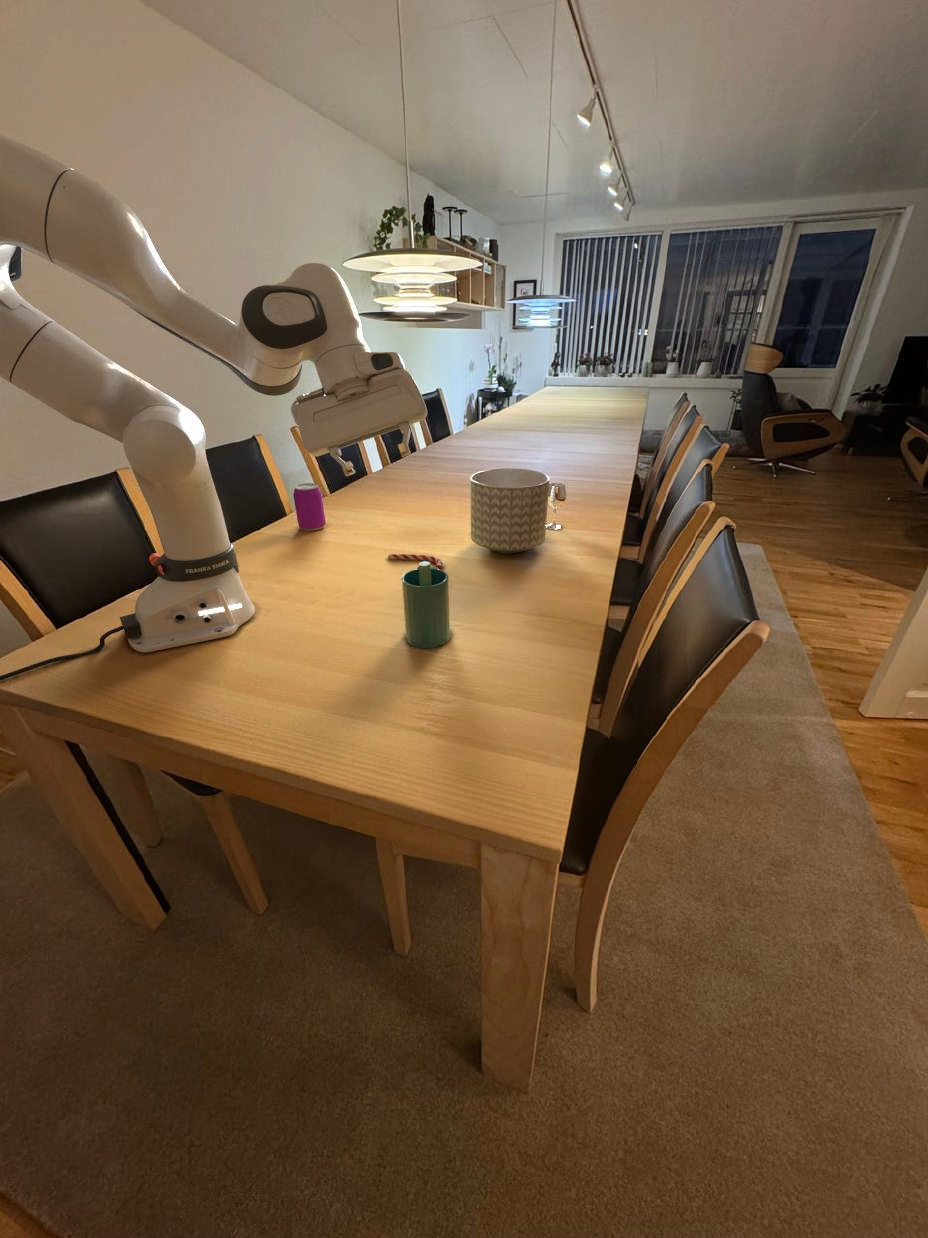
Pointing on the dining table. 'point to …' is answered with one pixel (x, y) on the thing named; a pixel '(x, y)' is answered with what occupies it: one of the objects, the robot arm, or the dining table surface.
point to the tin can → (426, 609)
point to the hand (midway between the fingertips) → (378, 464)
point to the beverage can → (309, 507)
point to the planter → (509, 509)
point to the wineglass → (556, 500)
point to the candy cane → (418, 557)
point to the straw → (425, 573)
